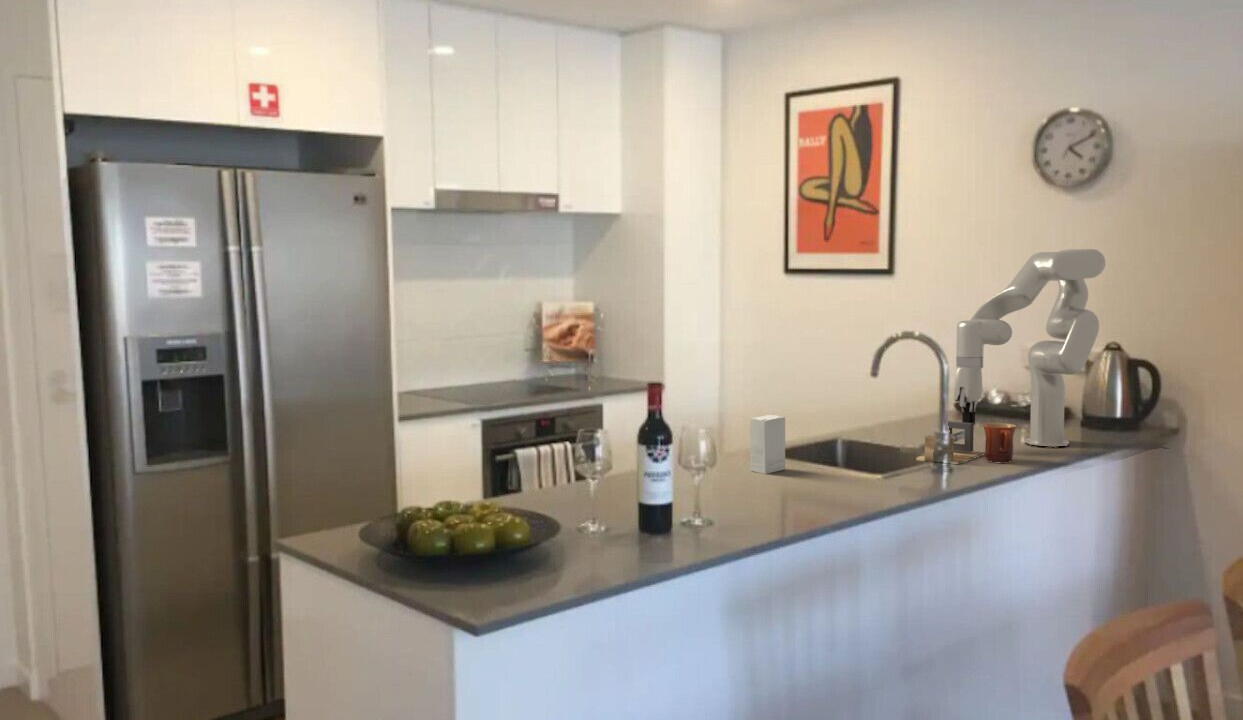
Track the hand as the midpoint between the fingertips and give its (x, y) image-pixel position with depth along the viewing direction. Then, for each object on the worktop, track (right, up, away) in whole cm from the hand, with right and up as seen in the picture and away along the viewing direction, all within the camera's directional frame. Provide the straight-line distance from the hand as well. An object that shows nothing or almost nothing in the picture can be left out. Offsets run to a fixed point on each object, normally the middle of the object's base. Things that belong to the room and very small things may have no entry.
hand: (968, 424), depth 310 cm
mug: (+3, -10, -17) cm, 20 cm away
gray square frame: (-5, -7, -5) cm, 10 cm away
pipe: (-7, -5, -8) cm, 11 cm away
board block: (-8, -9, -8) cm, 14 cm away
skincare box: (-62, -11, -24) cm, 68 cm away
